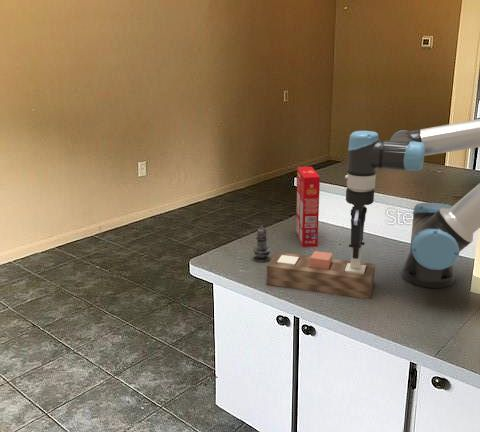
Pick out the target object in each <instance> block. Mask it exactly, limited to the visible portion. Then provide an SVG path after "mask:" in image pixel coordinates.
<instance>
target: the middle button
mask: <svg viewBox="0 0 480 432" xmlns="http://www.w3.org/2000/svg"><path fill="white" fill-rule="evenodd" d="M310 256H311V258H310V268H315V269H323V270H330V268H331V266H332V259H333V252H325V251H318V250H317V251H316V250H314V251H313V253H312V254H311V255H310Z"/></svg>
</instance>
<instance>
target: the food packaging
mask: <svg viewBox="0 0 480 432" xmlns="http://www.w3.org/2000/svg"><path fill="white" fill-rule="evenodd" d="M320 185H321V177H320V175H319V174H318V173H317V171H316V170H315V169H314V168H313V166H297V168H296V216H295V234H296V233H297V234H296V236H297V238H298V240H299V243H300V244H301V247H302V248H313V247H319V246H318V242H319V237H318V236H319V216H320V215H319V214H320V189H321V187H320Z"/></svg>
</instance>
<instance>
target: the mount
mask: <svg viewBox="0 0 480 432" xmlns="http://www.w3.org/2000/svg"><path fill="white" fill-rule="evenodd" d="M281 255H286V256H294V257H299V261H298V263H297V264H296V266H291V265H284V264H277V261H278V260H279V258H280V257H281ZM311 256H312V255H303V254H296V253H288V252H279V251H277V252H275V254H274V256H273V257H272V258H271V260H269V261H268V262H269V263H268V264H267V265H266V285H267V286H268V285H269V286H274V287H275V286H277V287H283V288H289V287H290V288H291V289H296V288H297V290H302V291H303V290H304V291H312V292H318V293H324V294H331V293H332V294H331V295H333V294H334V295H338V294H339V295H340V296H347V297H354V298H358V299H361V298H362V299H367V300H370V299H371V295H372V290H373V288H374V284H375V276H376V275H375V273H376V272H375V271H376V263H370V262H363V261H361V265H366V273H365V275H362V274H354V273H346V272H345V268H346V266H347V263H351V260H345V259H339V258H332V266H331V268H330V270H323V269H315V268H310V258H311Z"/></svg>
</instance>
